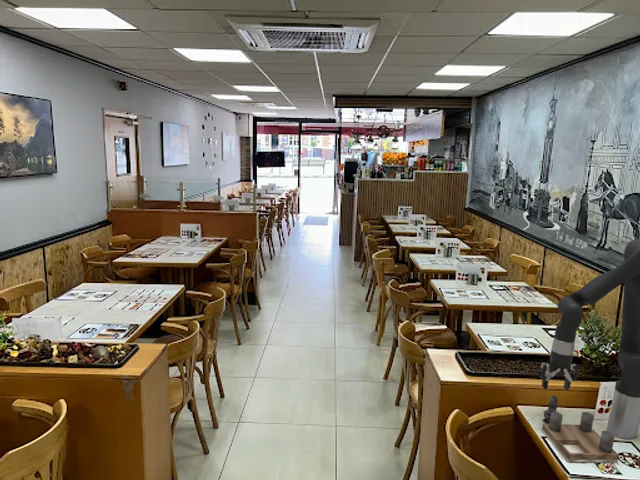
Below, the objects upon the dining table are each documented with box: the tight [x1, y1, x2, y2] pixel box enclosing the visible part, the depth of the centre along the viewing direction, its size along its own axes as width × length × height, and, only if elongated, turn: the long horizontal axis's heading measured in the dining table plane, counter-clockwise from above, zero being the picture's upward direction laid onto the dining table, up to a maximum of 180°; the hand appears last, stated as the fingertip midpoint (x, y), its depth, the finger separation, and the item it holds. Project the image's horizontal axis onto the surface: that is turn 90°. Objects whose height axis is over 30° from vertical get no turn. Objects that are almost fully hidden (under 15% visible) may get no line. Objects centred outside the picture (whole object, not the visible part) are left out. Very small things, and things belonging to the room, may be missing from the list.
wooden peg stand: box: [541, 411, 620, 464], centre depth 177 cm, size 18×18×9 cm
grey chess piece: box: [542, 394, 559, 424], centre depth 191 cm, size 6×6×12 cm
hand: (555, 388), depth 190 cm, fingers open, 8 cm apart
